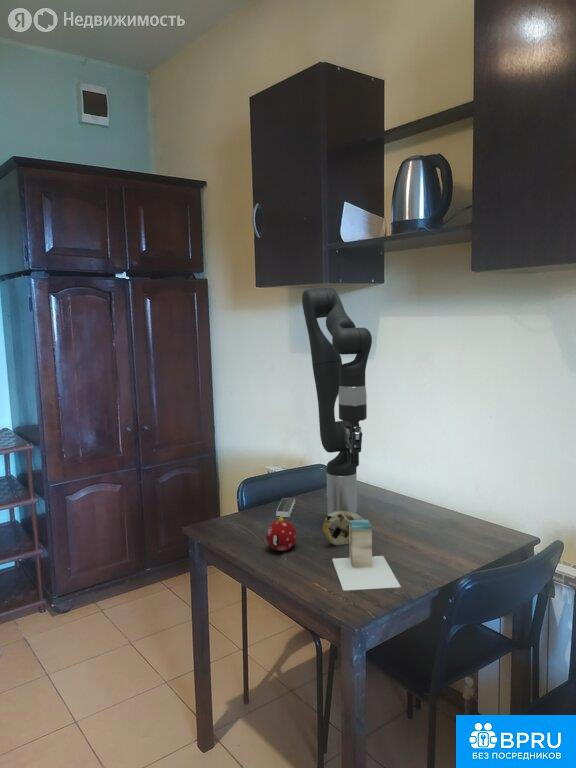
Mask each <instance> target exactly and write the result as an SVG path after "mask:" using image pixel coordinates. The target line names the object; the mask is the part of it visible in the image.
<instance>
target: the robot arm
mask: <svg viewBox="0 0 576 768" xmlns="http://www.w3.org/2000/svg"><path fill="white" fill-rule="evenodd" d="M301 296H302V297H301V305H302V309H303V316H304V320H305V324H306V330H307V334H308V340H309V347H310V355H311V363H312V364H311V365H312V370H313V371H312V372H313V373H312V374H313V377H314V383H315V389H316V390H315V391H316V396H317V405H318V406H317V407H318V422H319V424H318V425H319V436H320V441H321V445H322V447H323V449H324V451H326V452H327V453H331V454H332V453H338V454H337V455H336V456H334V458H333V459H330V460H329V461H328V462H327V464H326V499H327V500H326V502H327V503H326V504H327V506H326V508H327V515H328V514H330V513H333V512H336V511H347V512H353V513H356V514H358V491H357V490H358V489H357V488H358V485H357V483H358V482H357V481H358V480H357V468H358V467H359V465H360V453H361V452H362V442H363V432H362V426H360V421H366V420H367V417H368V416H367V415H368V414H367V412H368V411H367V410H368V409H367V408H368V405H367V403H368V402H367V398H368V397H367V389H366V388H367V387H366V369H367V364H368V358H369V354H370V352H371V348H372V344H373V338H372V337H373V336H372V333H371V331H370V330H369V329H368V328H366V327H357V326H356V325H355V322H354V321H353V320H352V319H351V318H350V316H348V313H346V309H345V307H344V305H343V302H342V300H341V298H340V296H339V294H338V292H337V290H335V288H333V287H319V288H317V287H316V288H308V289H305V290H303V292H302V295H301ZM322 318H325V327H326V329H327V332H328V333H329V334H330V336H331V338H332V340H331V341H330V340H329V339H328V338H327V336H326V335H325V334H324V332H323V331H322V329H321V327H320V324H319V322H318V319H322ZM341 355H355V357H354V359H353V360H352V361H350V362H345V363H343V362H342V361H343V360H342V356H341ZM337 399H338V419H339V420H338V421H336V418H335V417H336V416H335V414H336V413H335V406H336V401H337ZM327 515H326V516H327ZM334 528H335V525H334V524H331V525H330V526H329V528H328V529H331V530H334Z"/></svg>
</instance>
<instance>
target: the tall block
mask: <svg viewBox="0 0 576 768" xmlns="http://www.w3.org/2000/svg"><path fill="white" fill-rule="evenodd" d="M348 535H349V544H348V545H349V547H348V548H349V551H348V553H349V558H350V562H351V565H352V567H353V568H367V567H372V556H373V526H372V524H371V523H370V521H369V519H364V520H349V534H348Z"/></svg>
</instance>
